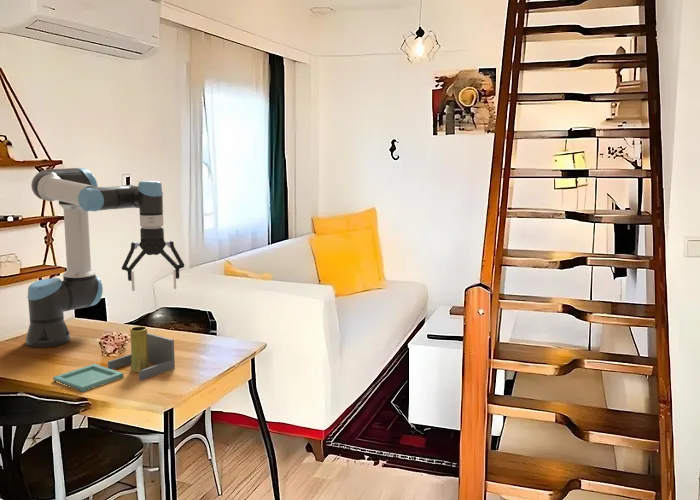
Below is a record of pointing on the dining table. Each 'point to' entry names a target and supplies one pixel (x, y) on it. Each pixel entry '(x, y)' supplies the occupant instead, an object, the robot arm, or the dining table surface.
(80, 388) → the tray
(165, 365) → the dock
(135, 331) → the vase
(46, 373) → the dining table surface
